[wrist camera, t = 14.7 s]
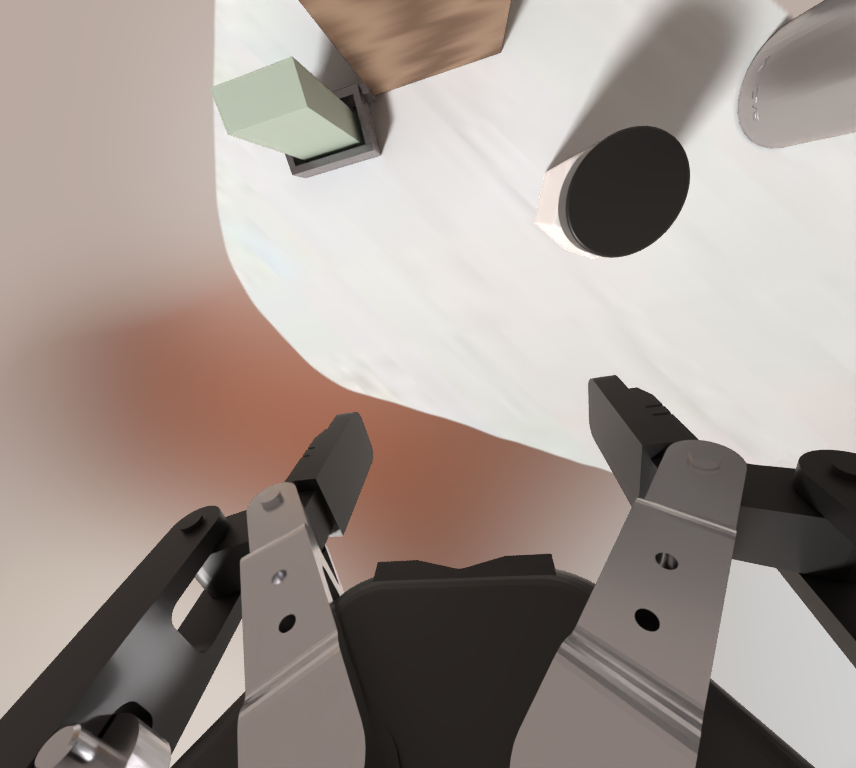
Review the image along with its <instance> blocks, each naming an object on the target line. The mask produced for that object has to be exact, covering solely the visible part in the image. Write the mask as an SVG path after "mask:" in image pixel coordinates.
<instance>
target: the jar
mask: <svg viewBox="0 0 856 768" xmlns="http://www.w3.org/2000/svg"><path fill="white" fill-rule="evenodd" d="M689 183H690V168H689V162H688V158H687V155H686V152H685V150H684V149H683V147H682V145H681V144H680V142H679V141H678V140H677V139H676V138H675V137H674V136H672V135H671V134H670V133H668V132H666V131H664V130H662V129H660V128H656V127H651V126H635V127H630V128H626V129H623V130H620V131H618V132H615V133H613V134H611V135H610V136H608V137H606V138H604V139H603V140H601V141H599V142H597V143H596V144H594V145H593V146H591V147H590V148H589V149H587V150H585V151H583V152H581V153H579V154H577V155H575V156H573V157H571V158H569V159H568V160H566V161H564V162H562V163H561V164H559V165H557V166H555V167H554V168H552V169H550V170H548V171H547V172H545V174H544V179H543V183H542V188H541V192H540V197H539V201H538V206H537V211H536V215H535V220H534V223H535V224H536V225H537V226H538V227H539V228H540V229H541V230H542V231H544V232H545V233H546V234H547V235H548V236H549V237H551V238H552V239H553V240H554V241H555V242H556V243H558V244H559V245H560V246H561V247H562V248H563V249H565V250H567V251H570V252H573V253H576V254H579V255H581V256H584V257H587V258H590V259H596V258H599V257H610V258H613V257H622V256H627V255H630V254H633V253H636V252H638V251H641V250H642V249H644V248H646V247H648V246H649V245H651V244H652V243H654V242H655V241H656V240H658V239H659V238H660V237H661V236H662V235H663V234H664V233H665V232H666V231H667V230H668V229H669V228H670V226H671V225H672V224H673V222H674V221H675V220H676V218H677V217H678V215H679V213H680V211H681V209H682V207H683V205H684V203H685V200H686V197H687V193H688V189H689Z"/></svg>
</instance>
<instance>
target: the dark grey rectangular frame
mask: <svg viewBox="0 0 856 768" xmlns="http://www.w3.org/2000/svg"><path fill="white" fill-rule="evenodd" d="M332 93H333V94H334V95H336V96H337V97H338V98H339V99H340V100H341V101H342V102H343V103H344V104H346V105H347V106H348V107H349V108H352V107H355V106H356V108H357V112H358V116H359V120H360V124H361V128H362V132H363V136H364V140H365V143H366V145H362V146H359V147H356V148H353V149H350V150H346V151H343V152H340V153H337V154H334V155H330V156H327V157H324V158H321V159H318V160H314V161H311V162H308V163H306V161H305V160H303V159H300V158H297V157H294V156H291V155H288V154H285V155H286V158H287V161H288V164H289V167H290V170H291V172H292V175H294V176H298V177H303V178H308V177H311V176H314V175H318V174H321V173H324V172H328V171H331V170H334V169H337V168H341V167H344V166H347V165H351V164H354V163H357V162H361V161H364V160H367V159H370V158H374V157H377V156H380V155H381V153H380V149H379V145H378V140H377V136H376V132H375V128H374V124H373V120H372V115H371V111H370V107H369V103H371V102H374V101H376V97H375V95H374V93H373V92H372V91H371V90H370V88H369V87H367V86H366V85H365V84H364V83H361V84H359V85H358V84H357V83H356V84H354V85H351V86H348V87H345V88H342V89H339V90H337V91H334V92H332Z"/></svg>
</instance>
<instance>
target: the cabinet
mask: <svg viewBox="0 0 856 768" xmlns="http://www.w3.org/2000/svg"><path fill="white" fill-rule="evenodd" d="M299 1H300V3H301V4H302V5H303V6H304V8H305V9H306V10H307V11H308V13H309V14H310V15H311V17H312V18H313V19H314V20H315V22H316V23H317V24H318V25H319V27H320V28H321V29H322V30H323V32H324V33H325V34H326V36H327V37H328V38H329V39H330V41H331V42H332V43H333V44H334V46H335V47H336V48H337V49H338V51H339V52H340V53H341V55H342V56H343V57H344V58H345V60H346V61H347V62H348V63H349V65H350V66H351V67H352V68H353V70H354V71H355V72H356V73H357V75H358V76H359V77H360V79H361V80H362V81H363V82H364V84H365V85H366V86H367V87H369V88H370V90H371V91H372V92H373V93H374V95H378V94H381V93H384V92H387V91H390V90H393V89H396V88H399V87H402V86H405V85H407V84H410V83H413V82H416V81H419V80H422V79H425V78H428V77H431V76H434V75H437V74H440V73H443V72H445V71H448V70H451V69H454V68H457V67H460V66H463V65H466V64H469V63H472V62H475V61H478V60H481V59H484V58H486V57H489V56H492V55H495V54H498V53H501V49H502V44H503V39H504V34H505V29H506V24H507V19H508V14H509V9H510V4H511V0H299Z"/></svg>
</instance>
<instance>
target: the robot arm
mask: <svg viewBox="0 0 856 768" xmlns="http://www.w3.org/2000/svg"><path fill="white" fill-rule="evenodd" d="M738 118H739V123H740V126H741V128H742V130H743V132H744V134H745V135H746V136H747V137H748V138H749V139H750V140H751V141H752V142H754V143H756V144H757V145H759V146H763V147H767V148H783V147H788V146H792V145H797V144H801V143H806V142H811V141H815V140H820V139H826V138H831V137H835V136H840V135H844V134H849V133H854V132H856V0H824V1H823V2H821V3H819V4H818V5H816V6H814V7H813V8H811V9H809V10H808V11H806V12H804V13H803V14H801V15H799V16H798V17H796V18H794V19H793V20H792V21H790V22H789V23H787V24H786V25H785V26H783V27H782V28H781V29H779V30H778V31H777V32H776V33H775V34H774V35H773V36H772V37H771V38H770V39H769V40H768V41H767V42H766V44H765V45H764V46H763V47H762V49H761V50H760V51H759V53H758V54H757V55H756V57H755V58H754V60H753V62H752V63H751V65H750V67H749V69H748V70H747V73H746V75H745V78H744V80H743V83H742V85H741V89H740V94H739V98H738ZM588 395H589V424H590V429H591V433H592V436H593V438H594V440H595V442H596V444H597V445H598V447H599V449H600V451H601V452H602V454H603V456H604V458H605V460H606V461H607V463H608V465H609V467H610V469H611V470H612V472H613V474H614V476H615V478H616V479H617V481H618V483H619V485H620V487H621V488H622V490H623V492H624V494H625V495H626V497H627V499H628V501H629V503H630V504H631V506H632V508H631V510H630V512H629V515H628V517H627V519H626V521H625V523H624V525H623V527H622V529H621V531H620V534H619V536H618V538H617V540H616V542H615V544H614V546H613V549H612V551H611V553H610V555H609V557H608V559H607V561H606V563H605V566H604V568H603V570H602V572H601V574H600V576H599V578H598V580H597V582H596V584H594V583H592V582H591V581H589V580H587V579H584V578H582V577H579V576H577V575H575V574H572V573H569V572H565V571H562V570H557V569H555V567H554V563H553V559H552V555H551V554H538V555H518V556H517V555H516V556H504V557H500V558H497V559H494V560H490V561H487V562H483V563H480V564H477V565H474V566H470V567H467V568H462V569H455V568H450V567H446V566H442V565H437V564H432V563H428V562H423V561H418V560H413V561H393V562H378V564H377V568H376V572H375V576H374V577H373V578H370V579H368V580H366V581H363V582H361V583H360V584H357V585H356V586H354V587H352V588H350V589H349V590H348V591H346V592H345V593H344V591H343V588H342V585H341V583H340V580H339V577H338V575H337V572H336V569H335V566H334V564H333V561H332V558H331V556H330V553H329V550H328V548H327V547H326V544H325V543H326V541H327V539H328V537H335V536H343V535H344V532H345V530H346V527H347V525H348V522H349V520H350V517H351V515H352V512H353V510H354V507H355V504H356V502H357V499H358V497H359V494H360V492H361V489H362V487H363V484H364V481H365V479H366V476H367V474H368V471H369V469H370V466H371V464H372V460H373V450H372V446H371V443H370V440H369V437H368V434H367V432H366V429H365V426H364V423H363V421H362V418H361V416H360V414H359V413H358V412H353V413H347V414H339V415H337V416H336V417H335V418H334V420H333V421H332V423H331V424H330V426H329V427H328V429H325V430H324V431H323V432H322V433H321V434H319V435H318V436H317V437H316V438H315V439H314V440H313V442H312V443H311V444H310V446H309V447H308V450H306V452H305V453H304V455H303V458H301V459H300V460H299V462H298V463H297V465H296V466H295V468H294V469H293V470H292V472H291V473H290V475H289V476H288V478H287V479H286V480H285V482H282V483H278V484H275V485H272V486H270V487H268V488H266V489H265V490H263V491H262V492H260V493H259V494H258V495H257V496H256V497H254V499H253V500H252V501H251V502H250V504H249V505H248V508H247V510H245V511H242V512H239V513H237V514H233V515H230V516H228V517H225V516H224V515H223V513H222V512H221V510H220V509H219V508H218V507H217V506H207V507H203V508H201V509H198V510H196V511H194V512H192V513H190V514H188V515H187V516H185V517H184V518H183V519H181V520H180V521H179V522H178V523H176V524H175V525H174V526H173V528H171V530H170V531H169V532H168V533H167V534H166V535H165V536H164V537H163V539H162V540H161V541H160V542H159V543H158V544H157V545H156V547H155V548H154V549H153V550H152V551H151V552H150V553H149V554H148V555H147V556H146V558H145V559H144V560H143V561H142V562H141V563H140V564H139V565H138V566H137V568H136V569H135V570H134V571H133V572H132V573H131V574H130V575H129V576H128V578H127V579H126V580H125V581H124V582H123V583H122V584H121V585H120V587H119V588H118V589H117V590H116V591H115V592H114V593H113V594H112V595H111V597H110V598H109V599H108V600H107V601H106V602H105V603H104V604H103V606H102V607H101V608H100V609H99V610H98V611H97V612H96V613H95V614H94V616H93V617H92V618H91V619H90V620H89V621H88V622H87V623H86V625H85V626H84V627H83V628H82V629H81V630H80V631H79V632H78V633H77V635H76V636H75V637H74V638H73V639H72V640H71V641H70V642H69V644H68V645H67V646H66V647H65V648H64V649H63V650H62V651H61V653H60V654H59V655H58V656H57V657H56V658H55V659H54V660H53V661H52V663H51V664H50V665H49V666H48V667H47V668H46V669H45V671H43V673H42V674H41V675H40V676H39V677H38V678H37V680H35V682H34V683H33V684H32V685H31V686H30V687H29V688H28V689H27V690H26V692H25V693H24V694H23V695H22V696H21V697H20V698H19V699H18V700H17V702H16V703H15V704H14V705H13V706H12V707H11V708H10V709H9V710H8V712H7V713H6V714H5V715H4V716H3V717H2V718H1V719H0V768H169V765H170V761H171V754H172V752H173V751H174V749H175V747H176V745H177V743H178V741H179V739H180V737H181V735H182V733H183V731H184V729H185V727H186V725H187V723H188V721H189V720H190V718H191V715H192V714H193V712H194V710H195V708H196V706H197V704H198V702H199V700H200V698H201V696H202V694H203V692H204V691H205V689H206V687H207V685H208V683H209V681H210V679H211V677H212V675H213V673H214V671H215V669H216V667H217V665H218V663H219V661H220V659H221V658H222V655H223V654H224V652H225V650H226V648H227V646H228V644H229V642H230V640H231V638H232V636H233V634H234V632H235V630H236V629H237V627H238V625H239V623H240V621H241V619H242V622H243V644H244V668H245V689H246V690H245V692H244V693H243V694H242V695H241V696H240V697H239V699H237V701H235V702H234V703H233V704H232V705H231V707H230V708H228V709H227V711H226V712H225V713H224V714H223V715H222V716H221V717H220V718H219V719H218V720H217V721H216V722H215V723H214V724H213V725H212V726H211V727H210V728H209V729H208V730H207V731H206V732H205V733H204V734H203V735H202V736H201V737H200V738H199V739H198V740H197V741H196V742H195V743H194V744H193V745H192V746H191V747H190V748H189V749H188V750H187V751H186V752H185V753H184V754H183V756H181V758H179V760H178V761H177V762H176V763H175V764H174V765H173V766H172V767H171V768H815V767H814V766H813V765H811V764H810V763H809V762H808V761H807V760H805V759H804V758H803V757H802V756H801V755H800V754H798V753H797V752H796V751H795V750H794V749H793V748H791V747H790V746H789V745H788V744H787V743H786V742H784V741H783V740H782V739H781V738H780V737H778V736H777V735H776V734H775V733H774V732H773V731H772V730H770V729H769V728H768V727H767V726H766V725H765V724H763V723H762V722H761V721H760V720H759V719H757V718H756V717H755V716H754V715H753V714H752V713H750V712H749V711H748V710H747V709H746V708H745V707H743V706H742V705H741V704H740V703H738V701H736V700H735V699H734V698H733V697H732V696H731V695H729V694H728V693H727V692H726V691H725V690H724V689H722V688H721V687H720V686H719V685H717V684H716V683H715V682H714V681H713V680H712V679H711V678H710V676H711V671H712V665H713V659H714V654H715V649H716V643H717V638H718V632H719V627H720V621H721V615H722V610H723V604H724V598H725V593H726V588H727V582H728V576H729V571H730V566H731V560H732V559H735V560H740V561H744V562H749V563H754V564H759V565H764V566H769V567H774V568H777V569H778V571H779V572H780V573H781V575H782V576H783V577H784V578H785V580H786V581H787V582H788V583H789V584H790V586H791V587H792V588H793V590H794V591H795V592H796V593H797V595H798V596H799V597H800V598H801V600H802V601H803V602H804V603H805V605H806V606H807V607H808V609H809V610H810V611H811V612H812V614H813V615H814V616H815V617H816V619H817V620H818V621H819V622H820V624H821V625H822V626H823V627H824V629H825V630H826V631H827V633H828V634H829V635H830V636H831V638H832V639H833V640H834V641H835V642H836V644H837V645H838V646H839V648H840V649H841V650H842V651H843V652H844V654H845V655H846V656H847V658H848V659H849V660H850V662H851V663H852V664H853V665H854V667H855V668H856V453H851V452H846V451H838V450H816V451H811V452H807V453H805V454H803V455H802V456H801V457H800V458H799V461H798V464H797V467H796V469H792V468H782V467H772V466H761V465H753V464H747V463H746V462H745V461H744V459H743V458H742V457H741V456H740V455H739V454H737V453H736V452H735V451H733V450H731V449H729V448H727V447H725V446H723V445H720V444H717V443H713V442H709V441H703V440H698V439H697V438H696V437H695V436H694V435H693V434H692V433H691V432H690V431H689V430H688V429H687V428H686V427H685V426H684V425H683V424H682V423H681V422H680V421H679V420H678V419H677V418H676V417H675V416H674V415H673V414H671V413H670V411H669V410H668V409H667V408H666V407H665V406H662V403H661V402H660V401H659V400H658V399H656V398H655V397H654V396H653V395H652V394H650V393H648V392H646V391H643V390H641V389H639V388H630V389H628V388H627V386H626V385H625V384H624V383H623V382H622V381H621V380H620V379H619V378H618V377H617V376H616V375H612V376H605V377H599V378H592V379H590V380H589V383H588ZM194 577H195V578H196V580H197V581H198V582H199V583H200V584H201V585H202V587H203V588H204V591H203V592H202V594H201V595H200V597H199V598H198V600H197V602H196V603H195V605H194V606H193V608H192V609H191V610H190V612H189V614H188V615H187V617H186V618H185V620H184V621H183V623H182V624H181V626H180V627H179V629H178V630H176V629H175V628H174V626H173V624H172V620H171V619H172V612H173V609H174V606H175V604H176V603H177V601H178V600H179V598H180V597H181V595H182V594H183V593H184V591H185V590H186V588H187V587H188V586H189V584H190V583H191V581H192V580H193V579H194Z"/></svg>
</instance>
